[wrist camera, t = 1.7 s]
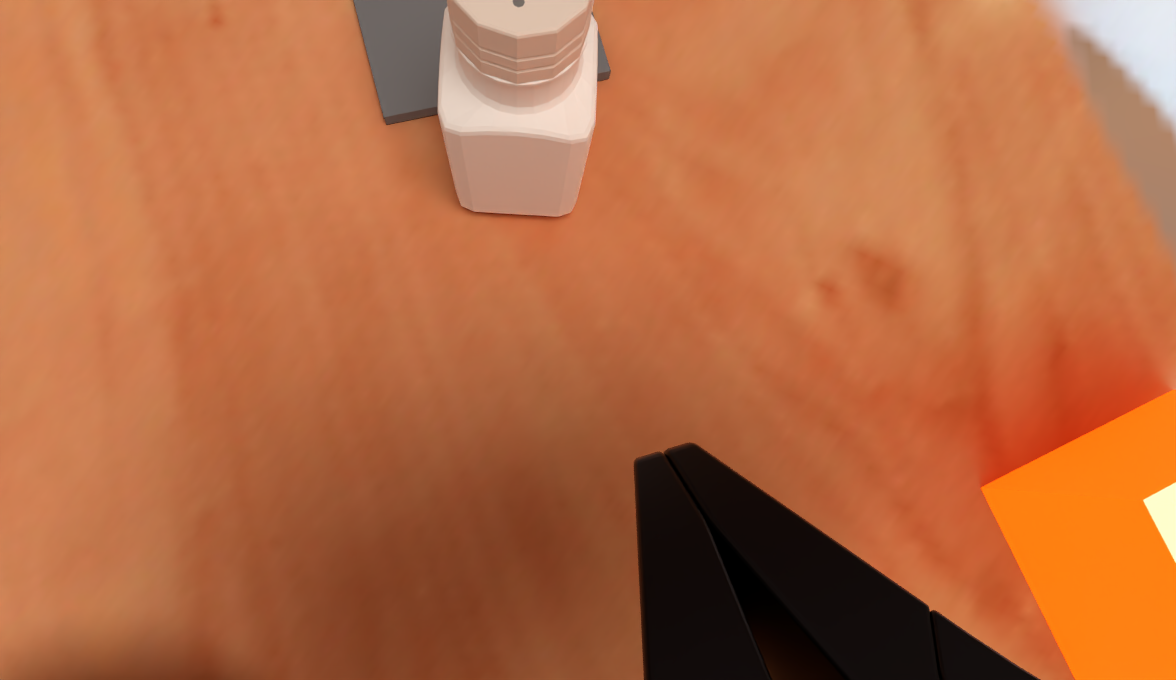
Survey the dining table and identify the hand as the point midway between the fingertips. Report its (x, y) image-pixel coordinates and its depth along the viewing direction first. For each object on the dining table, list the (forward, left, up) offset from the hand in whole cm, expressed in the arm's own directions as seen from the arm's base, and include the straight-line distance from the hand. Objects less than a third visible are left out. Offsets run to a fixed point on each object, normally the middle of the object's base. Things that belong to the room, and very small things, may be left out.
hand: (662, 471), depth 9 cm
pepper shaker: (+9, -5, -13) cm, 16 cm away
